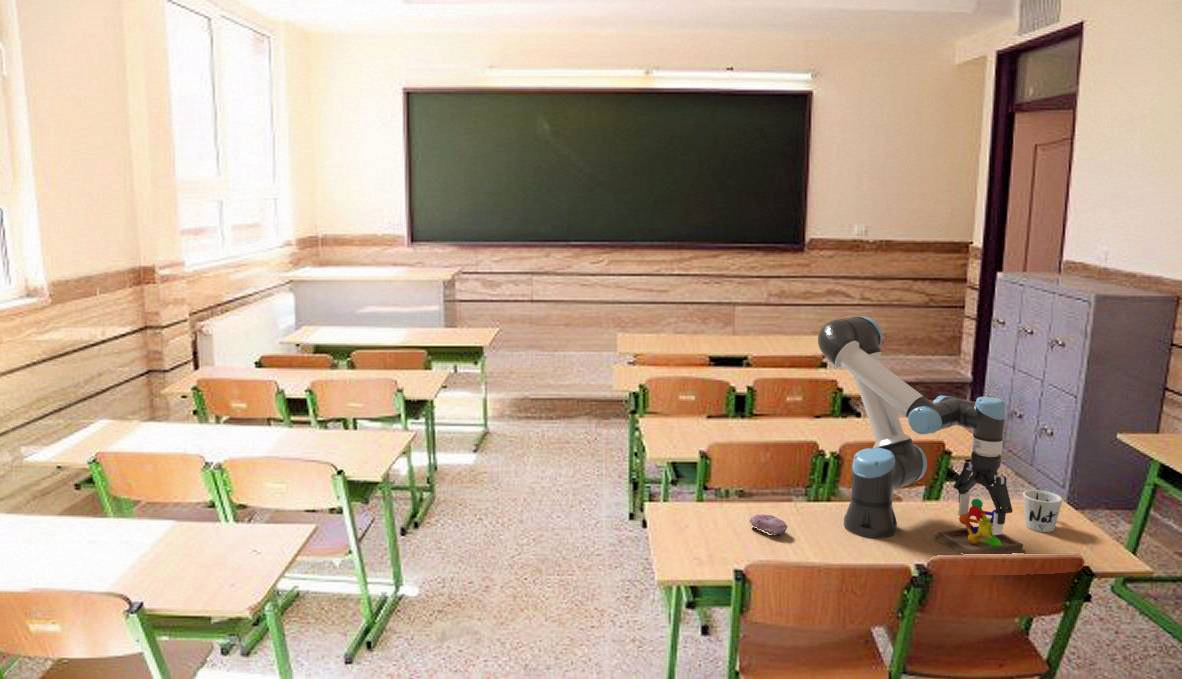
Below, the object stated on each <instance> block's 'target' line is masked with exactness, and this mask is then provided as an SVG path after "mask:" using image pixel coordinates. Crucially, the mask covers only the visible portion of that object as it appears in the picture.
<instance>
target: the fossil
mask: <svg viewBox="0 0 1182 679" xmlns="http://www.w3.org/2000/svg"><path fill="white" fill-rule="evenodd" d="M750 523H751V524H752V525H753V526H754V527H757V528H758V529H761V530H764V531H765V532H768V533H769V534H775V535H774V536H778V535H777V534H781V535H784V534H785V533H786V531H787V528H788V525H787V524H786V522H785V521H784V520H782V519H780V518H778V517H776V516H775V515H770V514H769V515H768V514H755V515H753V516H751V517H750V518H749V524H750Z"/></svg>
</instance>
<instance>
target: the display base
mask: <svg viewBox="0 0 1182 679" xmlns="http://www.w3.org/2000/svg"><path fill="white" fill-rule="evenodd" d="M976 527H978V528H979V527H980V526H979V525H978V526H976ZM992 530H993V527H992ZM989 535H990V532H989ZM968 536H969V532H968V530H967V528H966V527H963V528H955V529H948V530H941V531H937V534H935V536H934V539H935V540H937V542H940V543H941V544H944V545H945V546H947V547H948V548H950V549H951V550H953V551H955V552H957V553H959V554H960V553H963V554H1012V553H1025V554H1026V550H1025V549H1024V543H1021V542H1020V541H1018V540H1016V539H1014V538H1012V537H1010V536H1008V535H1006V534H1005V533H1003V532H1002V534H999V535H994V536H995V538H996V539H998V540H1000V542H1001V546H994V547H991V546H990V544H986V543H981V542H978V543H977V544H971V543H970V542H969V541H968ZM990 536H991V535H990ZM979 539H984V540H988V541H990V540H989V539H988V538H987V536H980V537H979Z"/></svg>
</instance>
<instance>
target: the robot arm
mask: <svg viewBox="0 0 1182 679" xmlns="http://www.w3.org/2000/svg"><path fill="white" fill-rule="evenodd" d="M883 339H884V338H883V331H882V329H881V327H880V325H879V324H878V323H877V322H876V320H874V319H872V318H871V317H868V316H852V317H851V316H850V317H848V318H847V317H846V318H841V319H833V320H830V321H828V322H826V323H825V324H824V325H822V327H821V329H820V330H819V333H818V336H817V344H818V347H819V350H820V352H821V353H822V354H823V356H824V357H825V358H826V359H827V360H828V361H829V362H830V363H831V364H833V365H834V366H835V367H837V368H839V369H841V368H843V369H845V370H846V371H847V372H848V373H850V374H851V375H852V376H853V377H854V380H855V383H856V386H857V390H858V392H859V395H860V398H861V401H862V404H863V406H864V410H865V412H866V413H865V414H866V415H867V419H868V421H869V424H870V427H871V430H872V432H873V436H874V439H875V442H874V445H873V446H872V448H869V447H868V448H867V447H866V448H864V449H861V450H859V451H857V452H856V453H855V454H854V457H853V461H852V465H851V469H852V478H851V495H850V496H851V498H850V503H849V504H848V505H849V506H848V507H847V510H846V513H845V515H844V518H843V526H845V527H844V528H845V529H846V530H847V531H849V532H850V531H851V532H850V533H852V532H853V534H855V533H856V535H858V536H863V537H866V538H867V537H868V538H876V539H877V538H880V539H881V538H887V537H891V536H894V535H895V534H896V533H897V532H898V521H897V518H896V514H895V510H894V509H893V495H894V490H897V489H900V488H902V487H904V486H909V485H913V484H915V483H916V482H917V481H919V480H920V479H922V478H923V477H924V475H925V473H926V472H927V467H928V461H927V456H926V454H925V452H924V450H922V448H921V447H919V446H918V445H917V444H914V442H913V439H912V437H911V436H910V435H908V434H906V433H905V432H904V429H903V426H902V422H901V421H900V417H899V415H898V412H900V413H901V414H902V415H904V416H905V417H906V418H907V420H908V421H907V423H908V425H909V427H910V429H911V430H912V431H913V432H915V433H916V434H918V435H928V434H934V433H936V432H938V431H941V430H944V429H948V428H952V427H955V426H957V427H962V428H967V429H972V430H973V431H972V432H973V433H972V444H971V450H972V451H971V453H970V454H971V456H970V461H966V462H964V463H963V468H962V470H961V472H960V474H959V475H958V478H957V480H956V481H955V483H954V485H953V489H955V490H957V492H958V501H957V502H958V514H957V515H958V516H959V517H960V516H961V515H963V514H967V513H968V512H969V509H970V507H969V505H970V498H971V497H970V495H971V494H970V491H971V489H973V488H974V486H976V485H977V484H979V485H981V486H983V487H985V490H987V491H988V493H989V496H990V498H991V500H992V502H993V506H994V508H995V510H997V511H996V512H994V520H993V527H992V528H993V530H992V534H993V535H999V534H1002V533H1003V529H1004V525H1005V523H1006V515H1007V514H1011V513H1013V512H1014V511H1013V506H1012V504H1011V503H1012V502H1011V499H1010V495H1009V491H1008V490H1009V489H1008V486H1007V477H1006V476H1005V475H1003V476H1000V475H998V470H999V469H1000V468H1001V461H1002V455H1001V454H1002V452H1003V442H1004V439H1003V438H1004V430H1005V421H1006V406H1007V405H1006V402H1005V401H1004V399H1003V400H1002V399H1001V398H998V397H993V396H979V397H977V398H976V401H970V400H968V399H967V400H966V399H962V398H957V397H954V396H952V395H949V396H947V395H939V396H937V397H936V398H935V399H934V400H933V401H931V400H930V399H928V398H926V397H925V396H924V395H922V394H921V393H920V392H919V391H917V390H916V389H914V388H913V387H912V386H910V385H909V383H906V382H905V381H904V380H903V379H901V378H900V377H899V376H897V375H896V374H895V373H893V372H892V371H891V370H889V369H888V368H887V367H886V366H884V365H883V364H882V363H881V362H880V357H881V355H882V350H881V345H882V341H883ZM897 411H898V412H897Z"/></svg>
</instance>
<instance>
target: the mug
mask: <svg viewBox="0 0 1182 679" xmlns="http://www.w3.org/2000/svg"><path fill="white" fill-rule="evenodd" d="M1022 498H1023V499H1022V500H1023V510H1024V511H1023V512H1024V521H1025V527H1026V528H1028V529H1030V530H1032V531H1035V532H1039V533H1051V532H1053V531H1054V530H1055V527H1056V525H1057V521H1058V517H1059V514H1060V511H1061V507H1062V504H1063V497H1062V496H1060V495H1058V494H1057V493H1054V492H1052V491H1046V490H1040V489H1032V490H1031V489H1030V490H1025V491H1023V493H1022Z"/></svg>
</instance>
